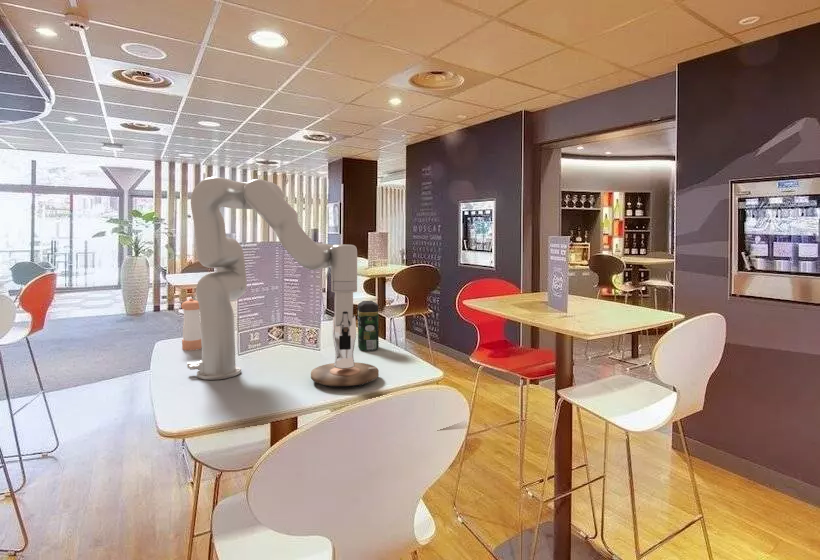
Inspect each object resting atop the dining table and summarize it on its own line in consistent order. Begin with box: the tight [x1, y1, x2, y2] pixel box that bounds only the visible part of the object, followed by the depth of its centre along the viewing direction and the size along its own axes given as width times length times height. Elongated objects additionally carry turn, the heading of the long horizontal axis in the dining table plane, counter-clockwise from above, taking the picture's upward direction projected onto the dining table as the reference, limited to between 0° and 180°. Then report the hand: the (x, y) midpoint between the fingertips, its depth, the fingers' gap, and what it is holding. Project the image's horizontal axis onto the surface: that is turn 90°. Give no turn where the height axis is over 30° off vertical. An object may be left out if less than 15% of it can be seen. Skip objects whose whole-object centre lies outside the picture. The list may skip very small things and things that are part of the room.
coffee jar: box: [357, 300, 380, 352], centre depth 173 cm, size 10×8×19 cm
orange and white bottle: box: [180, 297, 202, 351], centre depth 172 cm, size 7×7×19 cm
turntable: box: [310, 361, 380, 386], centre depth 135 cm, size 20×20×2 cm
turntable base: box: [322, 383, 367, 389], centre depth 135 cm, size 14×14×2 cm
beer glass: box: [331, 315, 357, 369], centre depth 134 cm, size 7×7×15 cm
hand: (344, 345), depth 134 cm, fingers closed on beer glass, 6 cm apart
